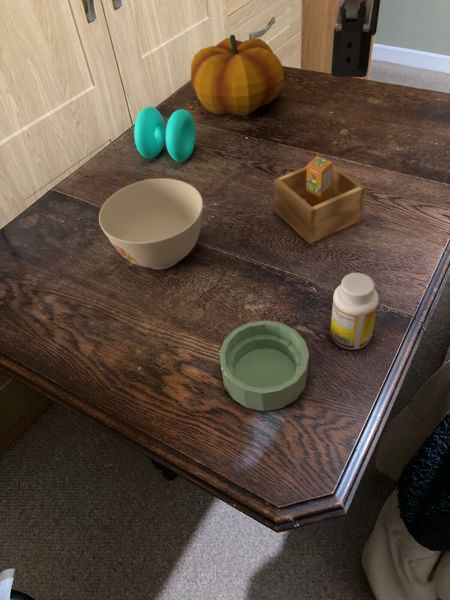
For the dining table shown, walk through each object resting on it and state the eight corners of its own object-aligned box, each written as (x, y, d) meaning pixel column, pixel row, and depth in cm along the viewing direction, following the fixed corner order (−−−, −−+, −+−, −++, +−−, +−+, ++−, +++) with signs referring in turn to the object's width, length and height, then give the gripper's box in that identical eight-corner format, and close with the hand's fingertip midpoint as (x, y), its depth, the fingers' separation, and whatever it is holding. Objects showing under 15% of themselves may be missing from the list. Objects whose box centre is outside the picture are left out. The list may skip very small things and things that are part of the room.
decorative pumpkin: (176, 109, 117) (164, 43, 106) (242, 76, 126) (237, 11, 115) (234, 136, 107) (228, 65, 96) (301, 98, 116) (303, 29, 105)
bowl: (105, 244, 86) (88, 197, 78) (190, 215, 89) (182, 167, 82) (130, 304, 76) (113, 256, 68) (225, 269, 79) (219, 220, 71)
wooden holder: (323, 191, 90) (325, 158, 85) (361, 220, 84) (365, 187, 79) (274, 211, 88) (274, 179, 83) (309, 244, 81) (311, 211, 76)
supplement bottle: (367, 318, 69) (376, 266, 62) (374, 350, 66) (386, 298, 58) (327, 320, 70) (331, 269, 62) (332, 352, 66) (338, 301, 59)
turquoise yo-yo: (182, 172, 99) (174, 125, 92) (138, 166, 102) (126, 121, 95) (200, 145, 105) (193, 100, 98) (157, 141, 108) (148, 97, 101)
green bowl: (277, 329, 70) (276, 308, 66) (324, 385, 63) (326, 365, 59) (208, 363, 67) (204, 343, 63) (250, 426, 60) (248, 408, 57)
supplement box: (303, 214, 85) (304, 163, 78) (315, 204, 87) (317, 153, 79) (319, 221, 83) (322, 170, 76) (331, 211, 85) (335, 160, 78)
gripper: (432, -185, 29) (388, 96, 42) (435, -207, 40) (399, 21, 53) (306, -173, 31) (300, 93, 44) (341, -197, 42) (329, 21, 55)
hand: (354, 53), depth 48 cm, fingers open, 9 cm apart
